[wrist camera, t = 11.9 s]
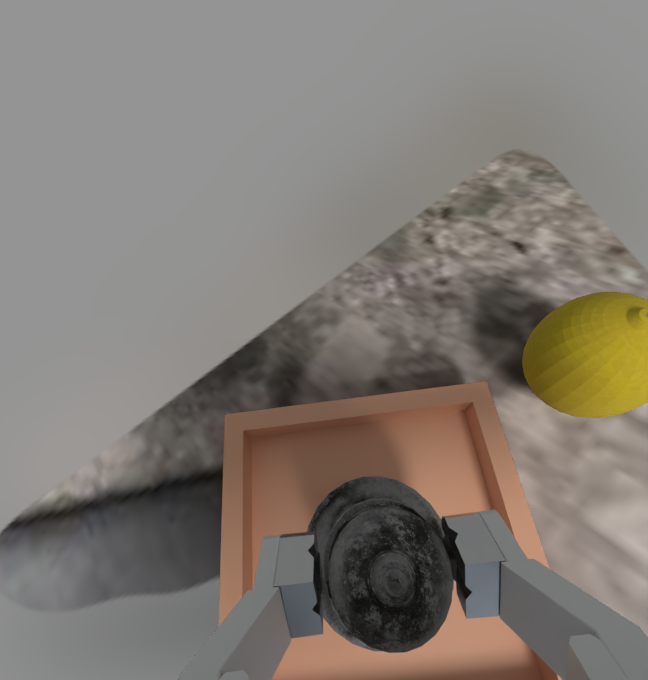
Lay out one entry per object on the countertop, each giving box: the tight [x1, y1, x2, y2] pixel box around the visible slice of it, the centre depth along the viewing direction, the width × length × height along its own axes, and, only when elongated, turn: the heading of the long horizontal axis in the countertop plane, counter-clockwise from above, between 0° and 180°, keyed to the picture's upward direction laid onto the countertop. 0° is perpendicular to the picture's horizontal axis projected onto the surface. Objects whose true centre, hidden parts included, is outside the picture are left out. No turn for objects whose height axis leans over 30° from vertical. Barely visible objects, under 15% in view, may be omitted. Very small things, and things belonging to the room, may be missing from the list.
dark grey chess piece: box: [307, 476, 454, 653], centre depth 12 cm, size 6×6×12 cm
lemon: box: [522, 292, 648, 418], centre depth 17 cm, size 6×6×8 cm
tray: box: [219, 381, 562, 680], centre depth 17 cm, size 14×14×2 cm
